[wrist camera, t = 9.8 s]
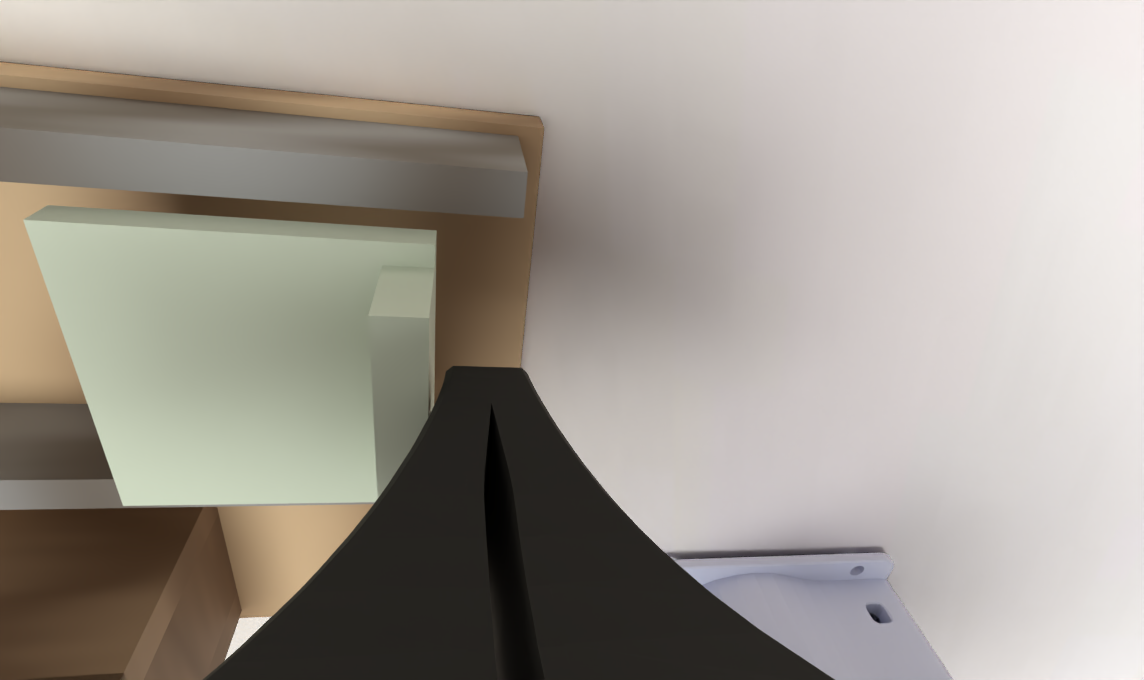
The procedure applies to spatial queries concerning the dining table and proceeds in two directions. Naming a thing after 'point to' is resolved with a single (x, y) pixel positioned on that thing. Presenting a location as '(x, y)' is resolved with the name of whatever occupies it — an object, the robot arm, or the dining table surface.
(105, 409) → the cover
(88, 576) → the brown block
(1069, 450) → the dining table surface
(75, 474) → the board
